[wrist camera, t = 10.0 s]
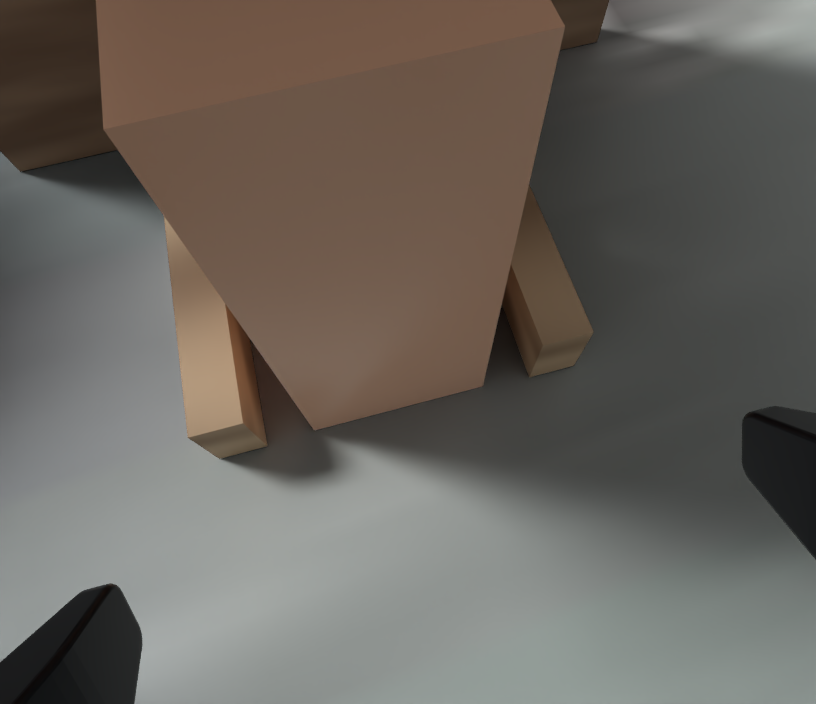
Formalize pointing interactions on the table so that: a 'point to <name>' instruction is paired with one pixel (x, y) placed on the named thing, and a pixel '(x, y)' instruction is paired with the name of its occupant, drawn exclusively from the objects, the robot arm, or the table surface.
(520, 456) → the table surface
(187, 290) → the shelf
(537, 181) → the table surface
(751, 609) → the table surface
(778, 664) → the table surface
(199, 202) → the terracotta box
